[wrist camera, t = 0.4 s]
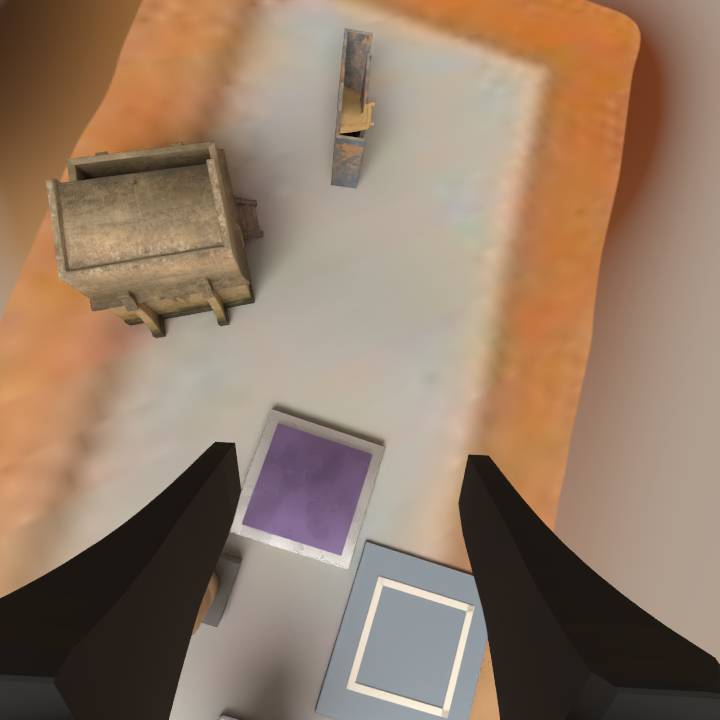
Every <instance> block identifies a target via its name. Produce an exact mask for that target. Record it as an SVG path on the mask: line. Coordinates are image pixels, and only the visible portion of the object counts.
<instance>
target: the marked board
mask: <svg viewBox="0 0 720 720" xmlns="http://www.w3.org/2000/svg"><path fill="white" fill-rule="evenodd" d="M487 638H488V635H487V629H486V623H485V619H484V614H483V610H482V606H481V602H480V598H479V594H478V590H477V587H476V583H475V579H474V576H473V575H470V574H467V573H464V572H461V571H458V570H455V569H451V568H448V567H445V566H442V565H439V564H436V563H433V562H430V561H426V560H423V559H420V558H417V557H414V556H411V555H408V554H404V553H401V552H398V551H395V550H392V549H389V548H386V547H382V546H379V545H376V544H373V543H370V542H367V541H366V544H365V547H364V550H363V554H362V557H361V560H360V564H359V567H358V570H357V574H356V577H355V580H354V584H353V587H352V590H351V594H350V597H349V600H348V603H347V607H346V610H345V613H344V617H343V620H342V623H341V627H340V630H339V633H338V637H337V640H336V643H335V647H334V650H333V653H332V657H331V660H330V663H329V667H328V670H327V673H326V677H325V680H324V683H323V687H322V690H321V693H320V697H319V700H318V703H317V706H316V710H315V713H317V714H321V715H324V716H328V717H331V718H334V719H338V720H469V716H470V711H471V707H472V703H473V698H474V694H475V690H476V686H477V681H478V677H479V673H480V668H481V664H482V660H483V656H484V651H485V647H486V643H487Z"/></svg>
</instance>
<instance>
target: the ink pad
mask: <svg viewBox="0 0 720 720" xmlns="http://www.w3.org/2000/svg"><path fill="white" fill-rule="evenodd" d="M384 450H385V447H384V446H381V445H378V444H375V443H372V442H369V441H366V440H363V439H360V438H357V437H354V436H351V435H348V434H345V433H342V432H339V431H336V430H333V429H330V428H327V427H324V426H321V425H318V424H315V423H312V422H309V421H306V420H303V419H300V418H297V417H294V416H291V415H288V414H285V413H282V412H279V411H276V410H273V409H272V410H271V413H270V415H269V418H268V421H267V423H266V426H265V429H264V432H263V434H262V437H261V440H260V443H259V445H258V448H257V451H256V453H255V456H254V459H253V462H252V464H251V467H250V470H249V472H248V475H247V478H246V481H245V483H244V486H243V489H242V491H241V494H240V498H239V502H238V506H237V510H236V514H235V517H234V521H233V524H232V527H231V529H230V532H231V533H234V534H237V535H241V536H244V537H247V538H250V539H253V540H257V541H260V542H263V543H266V544H269V545H272V546H276V547H279V548H282V549H285V550H288V551H292V552H295V553H298V554H301V555H304V556H308V557H311V558H314V559H317V560H320V561H323V562H327V563H330V564H333V565H336V566H339V567H343V568H346V569H348V567H349V564H350V561H351V558H352V554H353V551H354V548H355V544H356V541H357V538H358V535H359V531H360V528H361V525H362V522H363V518H364V515H365V512H366V508H367V505H368V502H369V499H370V495H371V492H372V489H373V486H374V482H375V479H376V476H377V472H378V469H379V466H380V463H381V459H382V456H383V453H384Z"/></svg>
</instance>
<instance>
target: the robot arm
mask: <svg viewBox="0 0 720 720" xmlns="http://www.w3.org/2000/svg"><path fill="white" fill-rule="evenodd" d="M240 494H241V486H240V478H239V471H238V463H237V455H236V448H235V443H226V442H215V443H214V444H212V445H211V446H210V447H209V448H208V449H207V450H206V451H205V452H204V453H203V454H202V455H201V456H200V457H199V458H198V459H197V460H196V461H195V462H194V463H193V464H192V465H191V466H190V467H189V468H188V469H187V470H186V471H184V472H183V473H182V474H181V475H180V476H179V477H178V478H177V479H176V480H175V481H174V482H173V483H172V484H170V485H169V486H168V487H167V488H166V489H165V490H164V491H163V492H162V493H161V494H159V495H158V496H157V497H156V498H155V499H154V500H152V501H151V502H150V503H149V504H148V505H146V506H145V507H144V508H143V509H142V510H141V511H139V512H138V513H137V514H136V515H134V516H133V517H132V518H130V519H129V520H128V521H127V522H125V523H124V524H123V525H121V526H120V527H119V528H117V529H116V530H114V531H113V532H112V533H110V534H109V535H108V536H106V537H105V538H103V539H102V540H100V541H99V542H97V543H96V544H94V545H92V546H91V547H89V548H88V549H86V550H85V551H83V552H82V553H80V554H78V555H77V556H75V557H74V558H72V559H71V560H69V561H68V562H66V563H64V564H63V565H61V566H59V567H57V568H56V569H54V570H52V571H51V572H49V573H47V574H45V575H44V576H42V577H40V578H38V579H36V580H35V581H33V582H31V583H29V584H27V585H25V586H24V587H22V588H20V589H18V590H16V591H14V592H12V593H10V594H8V595H6V596H4V597H2V598H0V720H169V717H170V713H171V709H172V705H173V701H174V697H175V693H176V690H177V686H178V682H179V678H180V675H181V671H182V667H183V664H184V660H185V657H186V653H187V649H188V646H189V642H190V639H191V636H192V632H193V629H194V625H195V622H196V619H197V615H198V612H199V609H200V606H201V603H202V600H203V597H204V595H205V592H206V589H207V587H208V584H209V582H210V579H211V577H212V574H213V572H214V569H215V567H216V564H217V562H218V559H219V557H220V555H221V552H222V550H223V547H224V545H225V542H226V539H227V537H228V534H229V532H230V529H231V527H232V524H233V521H234V517H235V514H236V510H237V506H238V502H239V498H240ZM459 510H460V518H461V525H462V532H463V537H464V541H465V545H466V549H467V553H468V556H469V560H470V564H471V568H472V572H473V575H474V579H475V583H476V587H477V590H478V594H479V598H480V602H481V606H482V610H483V614H484V619H485V623H486V629H487V635H488V641H489V647H490V653H491V659H492V666H493V672H494V679H495V686H496V692H497V699H498V706H499V714H500V720H720V664H719V663H718V661H717V660H716V658H715V657H713V656H712V655H710V654H708V653H707V652H705V651H704V650H702V649H701V648H699V647H698V646H696V645H694V644H693V643H691V642H690V641H688V640H687V639H685V638H684V637H682V636H680V635H679V634H677V633H676V632H674V631H672V630H671V629H670V628H668V627H667V626H665V625H664V624H662V623H661V622H660V621H658V620H657V619H655V618H654V617H652V616H651V615H650V614H648V613H647V612H646V611H644V610H643V609H641V608H640V607H639V606H637V605H636V604H635V603H633V602H632V601H631V600H629V599H628V598H627V597H625V596H624V595H623V594H621V593H620V592H619V591H618V590H616V589H615V588H614V587H613V586H612V585H610V584H609V583H608V582H607V581H605V580H604V579H603V578H602V577H600V576H599V575H598V574H597V573H596V572H595V571H593V570H592V569H591V568H590V567H589V566H588V565H586V564H585V563H584V562H583V561H582V560H581V559H580V558H579V557H578V556H577V555H576V554H575V553H573V552H572V551H571V550H570V549H569V548H568V547H567V546H566V545H565V544H564V543H563V542H562V541H561V540H560V539H559V538H558V537H557V536H556V535H555V534H554V533H553V532H552V531H551V530H550V529H549V528H548V527H547V526H546V525H545V523H544V522H543V521H542V520H541V519H540V518H539V517H538V516H537V515H536V513H535V512H534V511H533V510H532V509H531V508H530V506H529V505H528V504H527V503H526V502H525V501H524V499H523V498H522V497H521V496H520V495H519V493H518V492H517V491H516V490H515V488H514V487H513V486H512V485H511V483H510V482H509V481H508V480H507V478H506V477H505V476H504V475H503V473H502V472H501V471H500V469H499V468H498V467H497V466H496V464H495V463H494V462H493V460H492V459H491V458H490V457H489V456H486V455H468V460H467V464H466V469H465V474H464V479H463V484H462V488H461V493H460V498H459ZM218 720H238V719H235V718H231V717H228V716H221V717H220V718H219V719H218Z"/></svg>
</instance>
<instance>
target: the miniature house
mask: <svg viewBox="0 0 720 720" xmlns="http://www.w3.org/2000/svg"><path fill="white" fill-rule="evenodd" d="M95 154H96V156H89V157H81V158H73V159H67V167H68V174H69V181H70V182H64V183H60V182H59V181H58V180H57V179H50V180H47V181H46V184H47V191H48V200H49V207H50V215H51V222H52V230H53V238H54V245H55V253H56V260H57V268H58V275H59V280H61V281H63V282H64V283H66V284H67V285H69V286H71V287H72V288H74V289H75V290H77V291H79V292H80V293H82V294H84V295H85V296H87V297H88V298H90V303H91V310H92V311H98V310H104V309H108V310H109V311H111V312H112V313H114V314H116V315H117V316H119V317H121V318H122V319H124V321H125V323H127V324H129V325H135V324H141V323H145V324H146V325H147V326H148V327H149V329H150V330H151V332H152V334H153V336H154V337H155V338H159V337H165V329H164V322H163V319H168V318H174V317H179V316H185V315H190V314H196V313H201V312H207V311H212V310H213V311H214V313H215V315H216V317H217V320H218V324H219V325H220V326H223V325H229V320H228V314H227V308H229V307H234V306H240V305H245V304H251V303H254V296H253V291H252V286H251V281H250V276H249V271H248V266H247V261H246V256H245V251H244V248H245V244H244V239H250V238H257V237H263V231H260V232H259V227H258V222H257V217H256V212H255V207H254V206H257V203H256V200H254V201H252V200H243V199H241V198H237V199H234V196H233V192H232V188H231V183H230V178H229V173H228V168H227V163H226V158H225V153H224V150H223V149H221V150H218V149H217V148H216V145H215V142H214V141H211V142H203V143H195V144H187V145H183V143H182V142H181V143H173V144H172V146H171V147H163V148H154V149H146V150H138V151H130V152H122V153H114V154H108V153H107V152H99V153H95Z"/></svg>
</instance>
